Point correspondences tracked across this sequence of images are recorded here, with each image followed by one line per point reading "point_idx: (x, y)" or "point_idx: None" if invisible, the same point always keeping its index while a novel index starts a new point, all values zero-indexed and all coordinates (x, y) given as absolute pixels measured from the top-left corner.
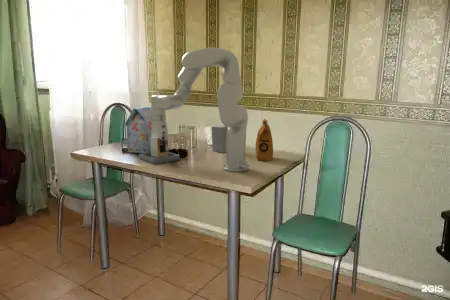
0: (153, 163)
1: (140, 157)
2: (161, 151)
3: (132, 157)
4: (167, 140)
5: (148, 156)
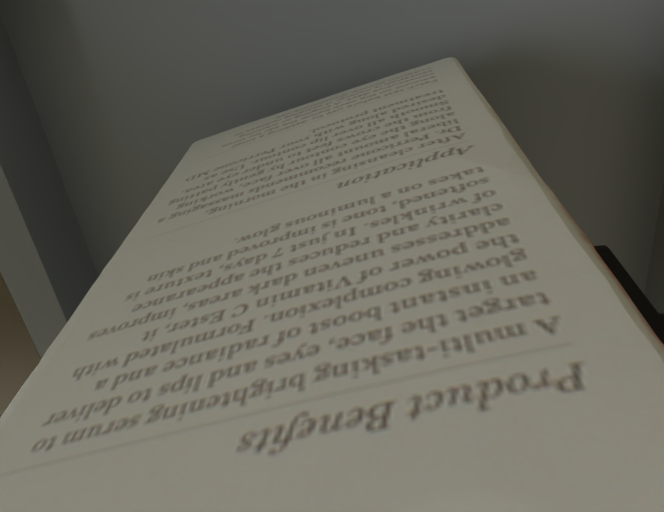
0: None
1: None
2: None
3: None
4: (648, 349)
5: None
